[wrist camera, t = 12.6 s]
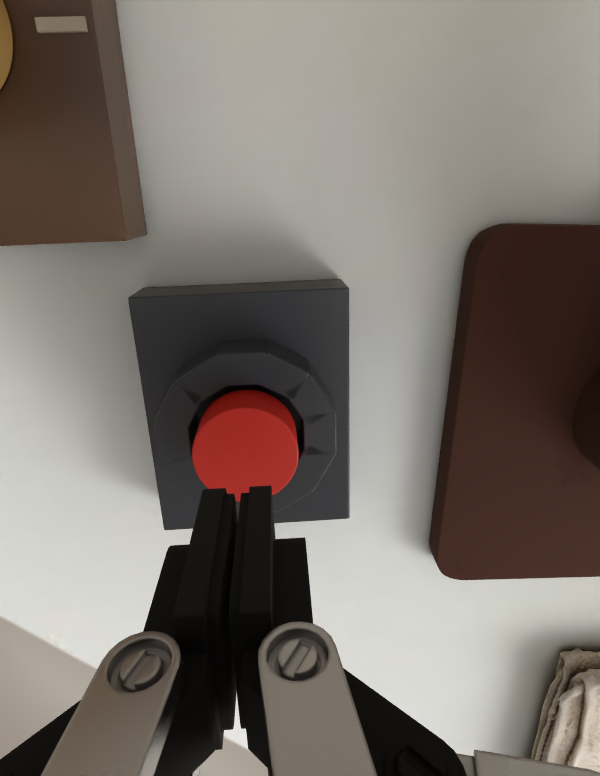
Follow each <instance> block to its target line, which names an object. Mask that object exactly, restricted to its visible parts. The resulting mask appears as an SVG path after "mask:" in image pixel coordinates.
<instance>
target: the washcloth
mask: <svg viewBox="0 0 600 776" xmlns="http://www.w3.org/2000/svg"><path fill="white" fill-rule="evenodd" d="M541 712H542V713H541V716H540V722H539V727H538V733H537V736H536V739H535V743H534V747H533V750H532V755H531V759H532V760H538V761H544V762H550V763H556V764H562V765H568V766H574V767H580V768H586V769H590V770H593V771H596V772H599V773H600V651H598V652H596V653H595V652H591V651H582V650H580V649H579V648H575V650H573V651H568V652H567V651H562V652H561V653H560V656H559V662H558V664H557V668H556V678H555V679H554V681H553V682H552V683H551V685H550V688H549V690H548V693H547V695H546V698H545V701H544V703H543V707H542V711H541Z"/></svg>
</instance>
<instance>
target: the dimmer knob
mask: <svg viewBox="0 0 600 776" xmlns="http://www.w3.org/2000/svg"><path fill="white" fill-rule="evenodd" d="M12 54H13V38H12V30H11V25H10V21H9V16H8V13H7V10H6V8H5V5H4V2H3V0H0V89H1V88H2V86H3V84H4V83H5V81H6V78H7V76H8V73H9V70H10V66H11V62H12Z"/></svg>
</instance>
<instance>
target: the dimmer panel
mask: <svg viewBox="0 0 600 776" xmlns="http://www.w3.org/2000/svg"><path fill="white" fill-rule="evenodd" d="M3 2H4V5H5V8H6V10H7V13H8V16H9V21H10V25H11V30H12V38H13V54H12V62H11V66H10V70H9V73H8V76H7V78H6V81H5V83H4V84H3V86H2V88H1V89H0V246H11V245H36V244H60V243H84V242H108V241H126V240H130V239H133V238H137V237H140V236H144V235H146V234H147V231H146V223H145V216H144V209H143V201H142V194H141V187H140V179H139V172H138V165H137V158H136V150H135V143H134V136H133V128H132V121H131V114H130V106H129V99H128V92H127V84H126V77H125V70H124V63H123V55H122V48H121V41H120V33H119V26H118V19H117V11H116V4H115V0H3Z"/></svg>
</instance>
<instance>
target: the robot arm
mask: <svg viewBox="0 0 600 776" xmlns="http://www.w3.org/2000/svg"><path fill="white" fill-rule="evenodd" d="M236 690H237V698H238V707H239V716H240V724H241V729H244V728H246V732H247V741H248V749H249V750H250V751H251V752H252V753H253V754H254V755H255V756H256V757H257V758H258V759H259V760H260V761H261V762H262V763H263V764H264V765H265V766H266V767H267V768H268V776H600V773H599V772H596V771H593V770H590V769H586V768H580V767H574V766H568V765H562V764H556V763H550V762H544V761H538V760H532V759H527V758H521V757H515V756H509V755H503V754H497V753H491V752H485V751H479V750H474V755H473V756H468V755H463V754H457V753H455V751H454V750H453V749H452V748H451V747H450V746H448V745H447V744H446V743H445V742H444V741H443V740H442V739H440V738H439V737H438V736H436V735H435V734H434V733H432V732H431V731H429V730H428V729H427V728H425V727H424V726H422V725H421V724H420V723H418V722H417V721H416V720H414V719H413V718H411V717H410V716H409V715H407V714H406V713H404V712H403V711H402V710H400V709H399V708H398V707H396V706H395V705H393V704H392V703H391V702H389V701H388V700H387V699H385V698H384V697H382V696H381V695H380V694H378V693H377V692H375V691H374V690H373V689H371V688H370V687H369V686H367V685H366V684H364V683H363V682H362V681H360V680H359V679H357V678H356V677H355V676H353V675H352V674H351V673H349V672H348V671H346V670H345V669H344V668H343V667H342V664H341V660H340V657H339V654H338V651H337V648H336V645H335V643H334V641H333V639H332V637H331V636H330V635H329V634H328V633H327V632H326V631H325V630H324V629H323V628H321V627H319V626H317V625H315V624H313V618H312V607H311V596H310V585H309V574H308V563H307V552H306V541H305V538H290V539H275V527H274V512H273V496H272V485H269V486H251V487H249V493H241V497H240V507H239V516H238V520H237V510H236V499H235V494H234V493H233V494H227V491H226V488H216V489H203V491H202V494H201V498H200V503H199V507H198V511H197V515H196V519H195V524H194V528H193V532H192V536H191V541H190V545H174V546H170V547H169V548H168V550H167V553H166V556H165V560H164V563H163V567H162V570H161V573H160V577H159V580H158V584H157V587H156V590H155V594H154V597H153V600H152V604H151V607H150V611H149V614H148V617H147V621H146V624H145V628H144V631H143V632H141V633H138V634H134V635H131V636H129V637H127V638H126V639H124V640H122V641H120V642H119V643H118V644H116V645H115V646H114V647H113V648H112V649H111V650H110V651H109V652H108V653H107V655H106V656H105V657H104V659H103V660H102V662H101V664H100V666H99V667H98V669H97V671H96V673H95V675H94V677H93V679H92V681H91V683H90V684H89V686H88V688H87V690H86V692H85V694H84V696H83V697H82V700H80V701H79V702H77V703H76V704H75V705H73V706H72V707H71V708H69V709H68V710H67V711H65V712H64V713H63V714H61V715H60V716H59V717H57V718H56V719H54V720H53V721H52V722H50V723H49V724H48V725H46V726H45V727H44V728H42V729H41V730H40V731H38V732H37V733H35V734H34V735H33V736H31V737H30V738H29V739H27V740H26V741H25V742H23V743H22V744H21V745H19V746H18V747H17V748H15V749H14V750H12V751H11V752H10V753H9V754H7V755H6V756H4V757H3V758H2V759H0V776H199V774H200V768H199V766H200V765H201V764H202V763H203V762H204V761H205V760H206V759H207V758H208V757H209V756H210V755H211V754H212V753H213V752H214V751H215V750H218V749H222V745H223V734H224V730H230V729H233V727H234V717H235V703H236Z"/></svg>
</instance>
